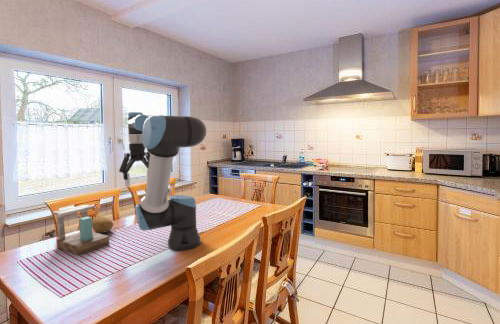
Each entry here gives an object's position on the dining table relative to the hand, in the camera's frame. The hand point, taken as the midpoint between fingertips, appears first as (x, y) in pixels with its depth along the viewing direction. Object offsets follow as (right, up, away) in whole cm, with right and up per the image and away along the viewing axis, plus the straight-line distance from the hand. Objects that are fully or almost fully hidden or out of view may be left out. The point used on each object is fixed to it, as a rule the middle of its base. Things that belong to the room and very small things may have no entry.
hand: (139, 183), depth 142 cm
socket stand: (-21, -28, -13) cm, 38 cm away
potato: (-22, -27, +6) cm, 35 cm away
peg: (-18, -28, -14) cm, 37 cm away
